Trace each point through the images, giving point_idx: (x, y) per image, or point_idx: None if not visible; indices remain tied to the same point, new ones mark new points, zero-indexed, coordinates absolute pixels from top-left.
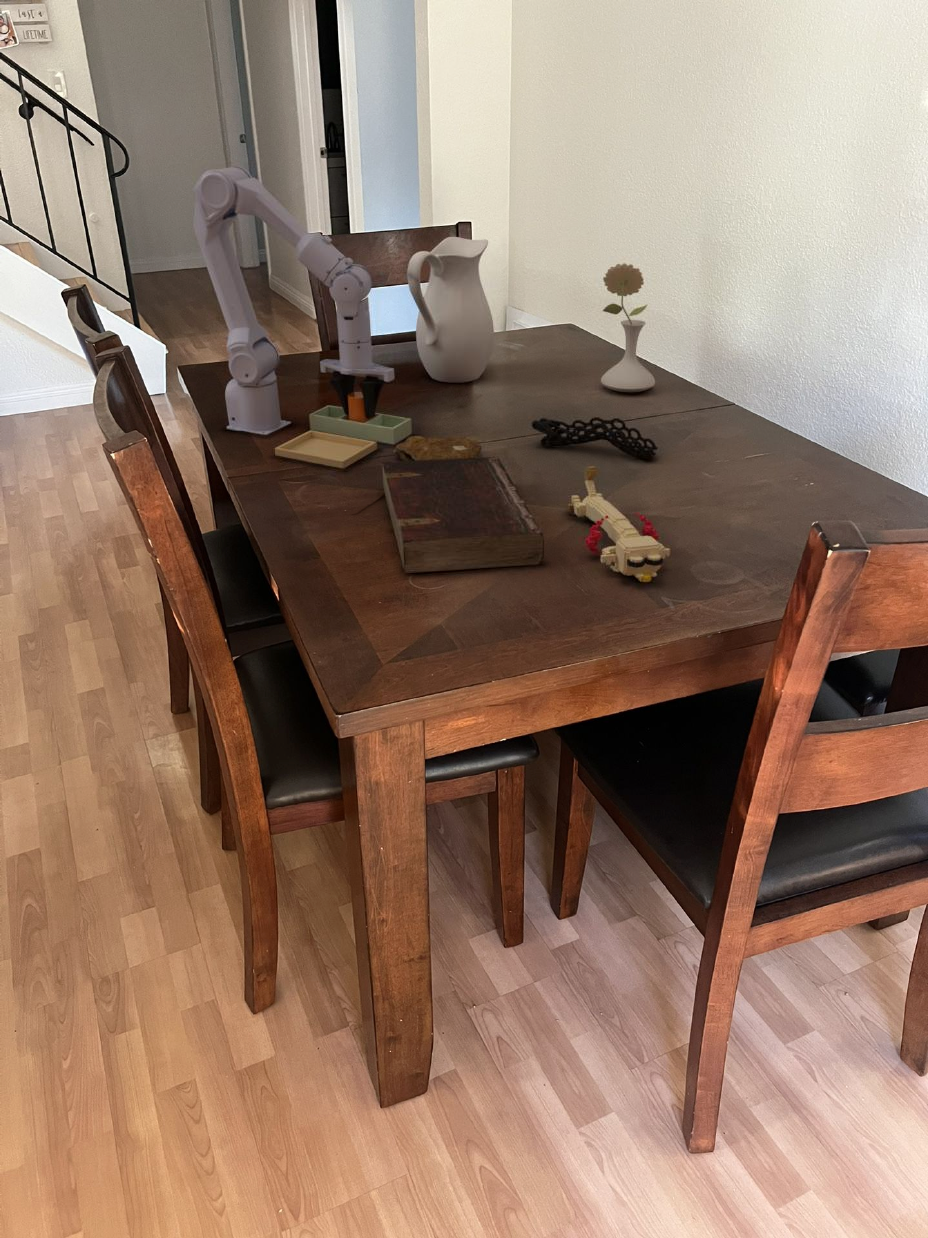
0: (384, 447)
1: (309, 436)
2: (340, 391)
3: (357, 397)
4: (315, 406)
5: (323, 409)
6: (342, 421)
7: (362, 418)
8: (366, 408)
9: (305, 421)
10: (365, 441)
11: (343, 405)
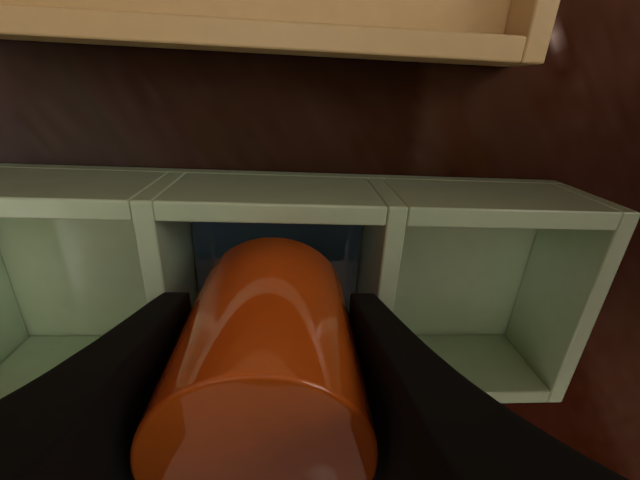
0: (7, 125)
1: (517, 5)
2: (453, 424)
3: (207, 405)
4: (629, 446)
5: (568, 338)
6: (345, 203)
7: (211, 278)
8: (130, 329)
9: (626, 296)
10: (17, 5)
11: (390, 324)
